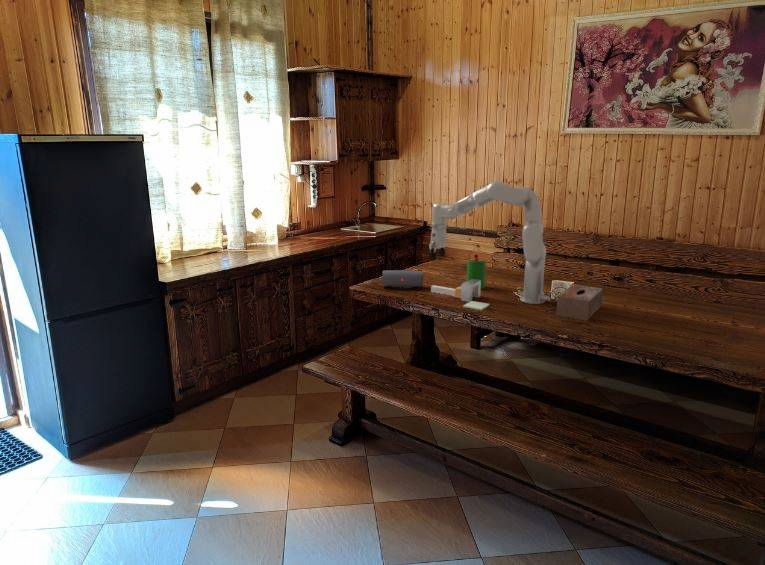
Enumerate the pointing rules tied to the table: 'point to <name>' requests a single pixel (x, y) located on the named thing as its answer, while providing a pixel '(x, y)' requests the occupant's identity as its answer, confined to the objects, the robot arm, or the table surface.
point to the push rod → (443, 290)
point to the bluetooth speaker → (402, 278)
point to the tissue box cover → (579, 302)
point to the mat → (476, 305)
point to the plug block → (458, 292)
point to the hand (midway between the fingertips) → (437, 257)
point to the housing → (470, 290)
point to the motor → (476, 270)
